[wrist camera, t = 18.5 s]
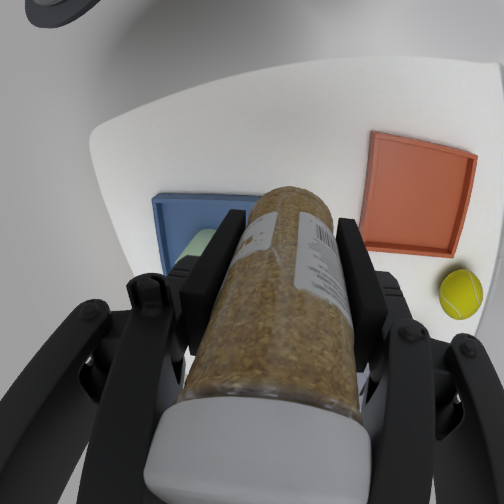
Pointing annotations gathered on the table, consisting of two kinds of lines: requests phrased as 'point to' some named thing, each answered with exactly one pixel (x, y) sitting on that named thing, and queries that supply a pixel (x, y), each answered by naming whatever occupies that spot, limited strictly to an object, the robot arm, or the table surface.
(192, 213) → the blue tray
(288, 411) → the sprinkles bottle
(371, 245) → the terracotta tray
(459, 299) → the tennis ball
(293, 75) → the table surface
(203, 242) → the candle
